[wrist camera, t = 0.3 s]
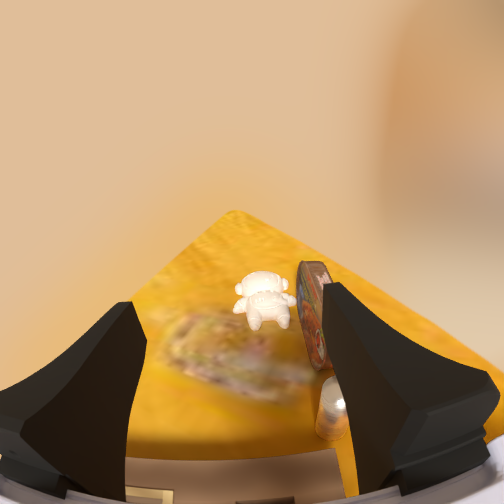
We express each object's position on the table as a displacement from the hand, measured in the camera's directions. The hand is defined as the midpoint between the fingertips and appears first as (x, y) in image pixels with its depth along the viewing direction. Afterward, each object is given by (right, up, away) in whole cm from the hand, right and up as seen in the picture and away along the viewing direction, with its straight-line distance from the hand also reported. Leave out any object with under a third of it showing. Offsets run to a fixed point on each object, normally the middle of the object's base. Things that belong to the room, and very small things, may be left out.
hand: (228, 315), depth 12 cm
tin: (+9, -8, +27) cm, 29 cm away
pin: (+9, -15, +16) cm, 23 cm away
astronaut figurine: (+3, -5, +33) cm, 34 cm away
